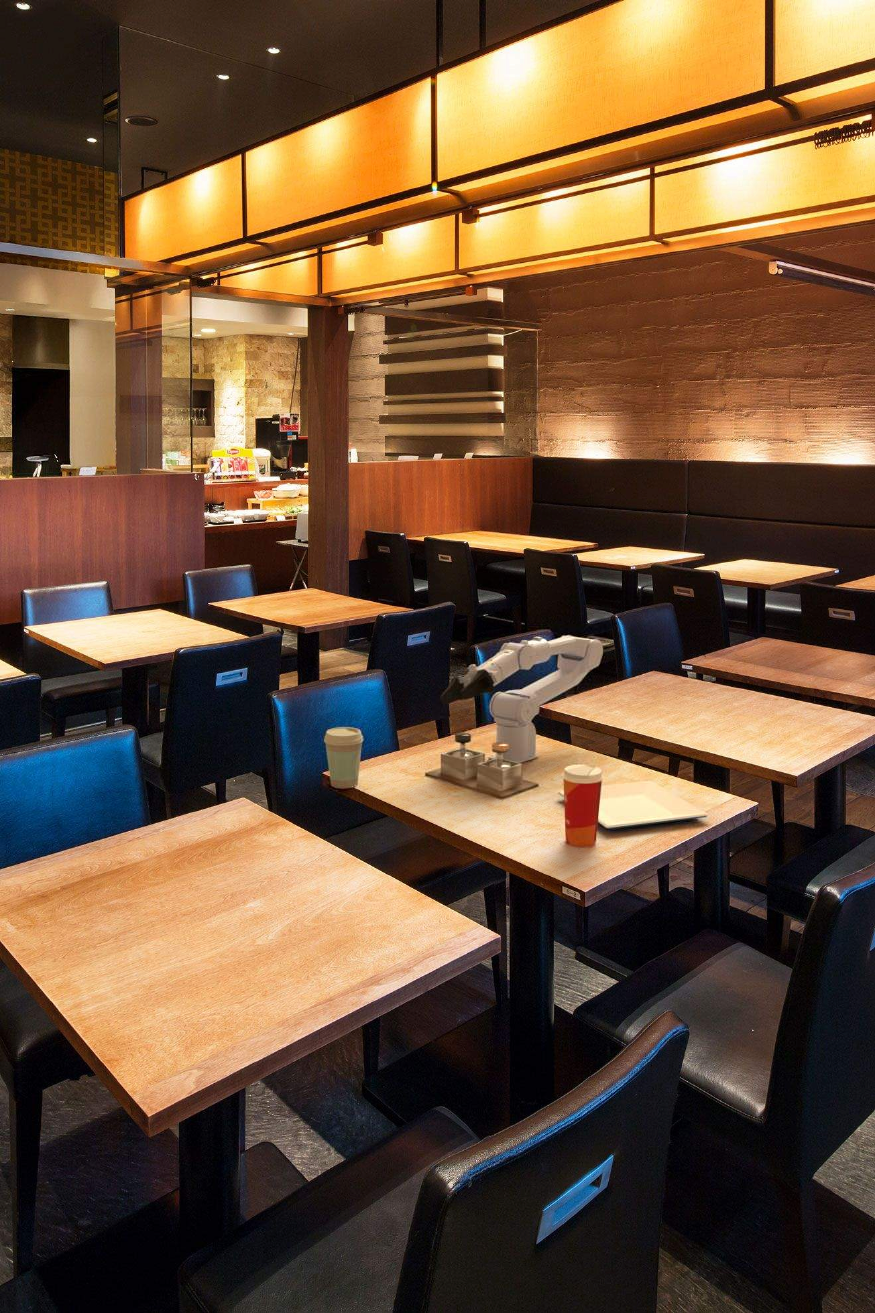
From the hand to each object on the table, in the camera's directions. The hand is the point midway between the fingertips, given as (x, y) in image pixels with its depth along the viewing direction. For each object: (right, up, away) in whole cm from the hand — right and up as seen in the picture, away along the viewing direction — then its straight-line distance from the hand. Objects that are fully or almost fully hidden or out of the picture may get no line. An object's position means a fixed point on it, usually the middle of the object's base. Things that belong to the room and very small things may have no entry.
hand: (453, 698), depth 223 cm
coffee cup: (-24, -19, -1) cm, 31 cm away
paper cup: (+23, -26, -33) cm, 48 cm away
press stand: (+6, -18, +2) cm, 19 cm away
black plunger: (+2, -13, +5) cm, 15 cm away
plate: (+36, -23, -16) cm, 45 cm away
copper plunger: (+10, -15, -2) cm, 18 cm away
